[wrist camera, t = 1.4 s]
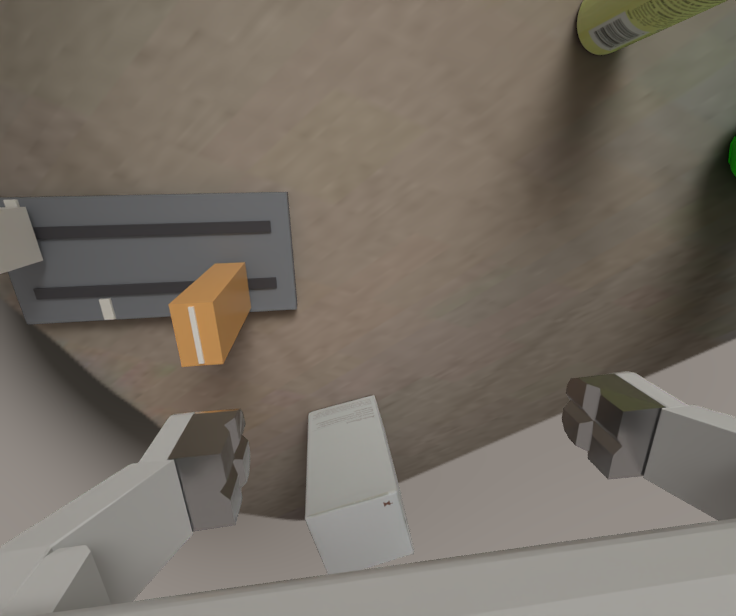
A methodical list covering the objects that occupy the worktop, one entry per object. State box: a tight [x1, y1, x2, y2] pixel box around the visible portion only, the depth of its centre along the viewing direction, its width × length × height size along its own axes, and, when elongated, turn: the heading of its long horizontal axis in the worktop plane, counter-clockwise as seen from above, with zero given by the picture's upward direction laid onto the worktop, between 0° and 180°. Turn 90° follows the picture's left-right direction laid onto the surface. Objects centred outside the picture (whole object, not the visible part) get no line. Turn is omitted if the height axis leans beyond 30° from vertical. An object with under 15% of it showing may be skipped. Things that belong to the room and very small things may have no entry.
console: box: [0, 192, 297, 324], centre depth 30 cm, size 22×10×1 cm, turn 91°
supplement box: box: [305, 395, 414, 574], centre depth 34 cm, size 7×7×13 cm
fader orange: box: [168, 262, 251, 367], centre depth 26 cm, size 2×4×10 cm, turn 1°
